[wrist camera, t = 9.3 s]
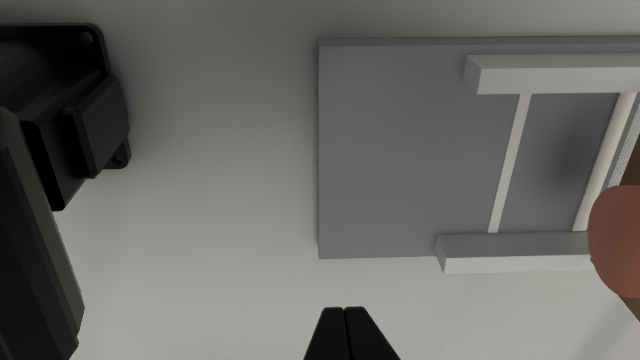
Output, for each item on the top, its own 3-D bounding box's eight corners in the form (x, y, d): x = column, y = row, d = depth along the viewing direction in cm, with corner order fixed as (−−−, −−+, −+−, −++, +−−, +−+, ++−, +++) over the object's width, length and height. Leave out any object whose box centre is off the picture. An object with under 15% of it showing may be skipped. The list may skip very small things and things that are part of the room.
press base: (317, 244, 25) (320, 283, 23) (317, 38, 20) (321, 60, 17) (571, 237, 26) (601, 275, 23) (643, 35, 20) (693, 55, 17)
